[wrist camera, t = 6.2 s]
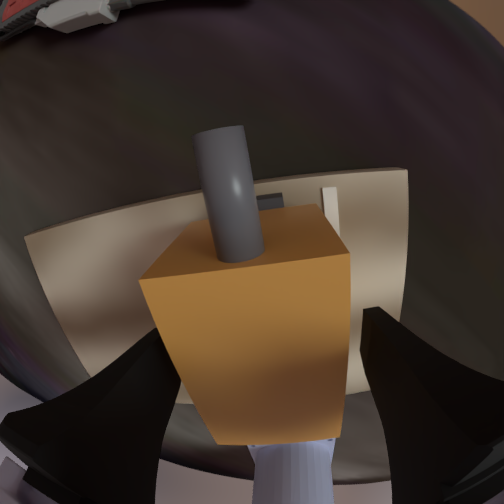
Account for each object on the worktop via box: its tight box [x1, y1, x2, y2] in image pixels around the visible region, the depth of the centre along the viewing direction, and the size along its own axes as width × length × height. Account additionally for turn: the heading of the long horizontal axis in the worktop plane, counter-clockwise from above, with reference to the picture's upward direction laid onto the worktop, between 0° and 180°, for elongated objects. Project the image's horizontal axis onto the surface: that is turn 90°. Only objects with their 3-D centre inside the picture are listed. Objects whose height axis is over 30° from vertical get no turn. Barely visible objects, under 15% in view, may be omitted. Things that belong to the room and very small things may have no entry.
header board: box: [24, 167, 408, 404], centre depth 13 cm, size 14×22×5 cm, turn 99°
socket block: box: [139, 126, 351, 445], centre depth 9 cm, size 11×5×5 cm, turn 10°
